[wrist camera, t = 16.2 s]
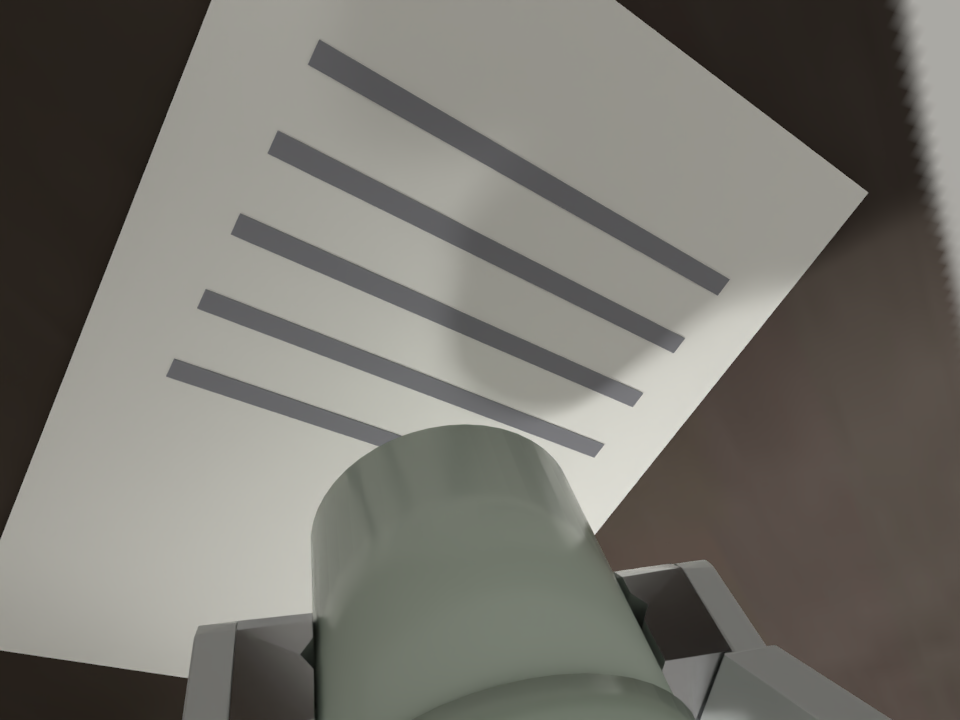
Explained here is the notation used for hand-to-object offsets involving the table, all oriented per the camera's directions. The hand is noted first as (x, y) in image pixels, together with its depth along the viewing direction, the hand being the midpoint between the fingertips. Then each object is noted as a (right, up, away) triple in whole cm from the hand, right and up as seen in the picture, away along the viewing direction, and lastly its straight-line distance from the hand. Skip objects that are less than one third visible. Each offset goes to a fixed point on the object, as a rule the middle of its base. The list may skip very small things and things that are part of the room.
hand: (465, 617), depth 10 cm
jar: (0, +1, +1) cm, 2 cm away
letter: (-1, +3, +4) cm, 5 cm away
